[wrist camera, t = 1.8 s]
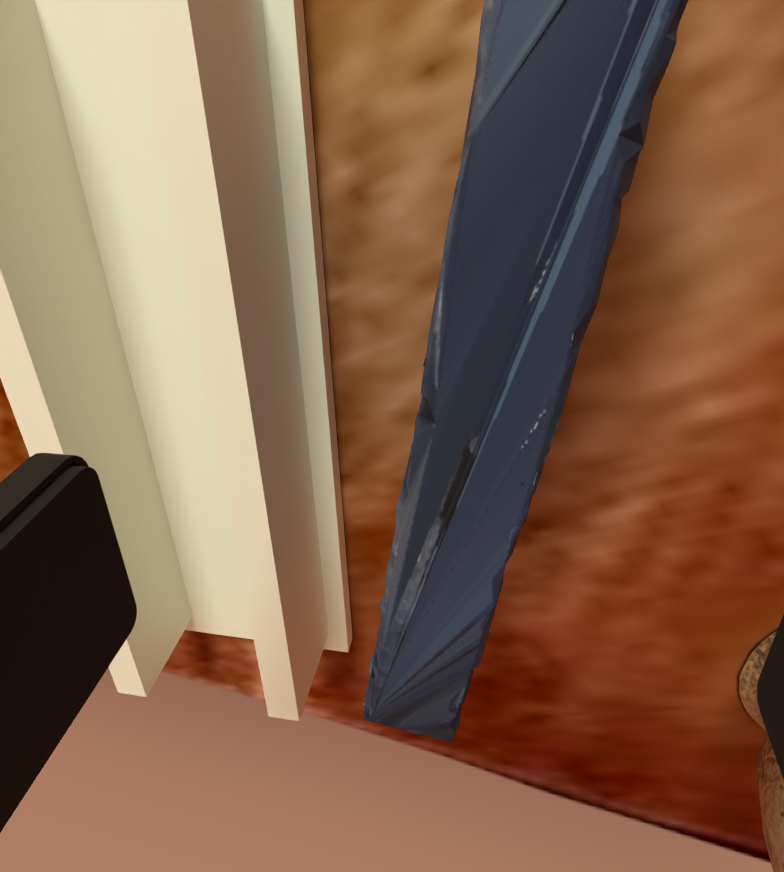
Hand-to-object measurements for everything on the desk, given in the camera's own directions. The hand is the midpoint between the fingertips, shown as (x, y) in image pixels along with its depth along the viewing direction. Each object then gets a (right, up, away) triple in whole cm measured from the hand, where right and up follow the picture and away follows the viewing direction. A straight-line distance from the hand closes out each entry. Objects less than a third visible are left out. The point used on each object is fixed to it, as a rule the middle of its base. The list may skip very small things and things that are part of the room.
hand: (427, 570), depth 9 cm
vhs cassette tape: (+3, +7, +11) cm, 13 cm away
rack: (-7, +4, +15) cm, 17 cm away
